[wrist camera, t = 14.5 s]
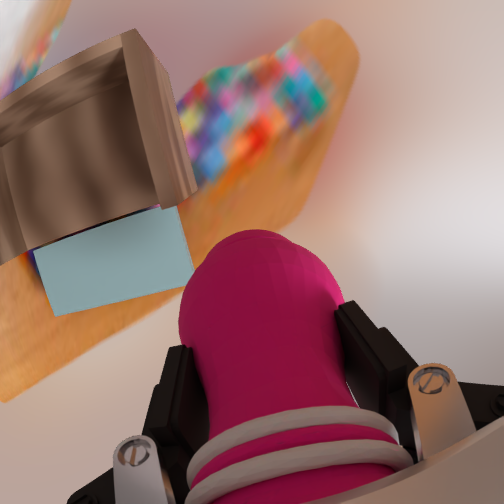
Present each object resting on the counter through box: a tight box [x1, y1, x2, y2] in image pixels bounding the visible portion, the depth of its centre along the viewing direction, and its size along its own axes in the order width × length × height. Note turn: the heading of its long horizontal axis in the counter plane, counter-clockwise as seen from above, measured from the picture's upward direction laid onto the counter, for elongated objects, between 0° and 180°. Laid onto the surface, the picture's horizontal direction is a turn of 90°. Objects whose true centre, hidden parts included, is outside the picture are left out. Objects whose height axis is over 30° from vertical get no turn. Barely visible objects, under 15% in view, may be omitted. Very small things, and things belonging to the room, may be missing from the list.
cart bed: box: [0, 29, 198, 265], centre depth 25 cm, size 22×14×13 cm, turn 104°
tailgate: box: [33, 206, 195, 317], centre depth 30 cm, size 18×2×8 cm
